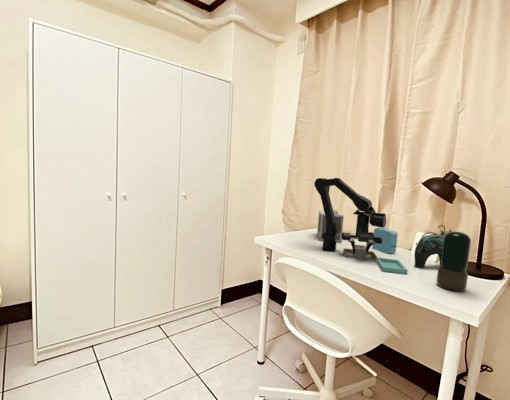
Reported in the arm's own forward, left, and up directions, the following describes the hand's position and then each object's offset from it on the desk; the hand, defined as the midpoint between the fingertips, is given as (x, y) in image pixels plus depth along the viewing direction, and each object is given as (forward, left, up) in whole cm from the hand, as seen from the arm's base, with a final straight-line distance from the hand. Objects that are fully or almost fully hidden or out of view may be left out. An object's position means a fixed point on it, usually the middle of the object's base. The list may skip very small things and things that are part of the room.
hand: (359, 254), depth 143 cm
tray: (+12, -12, -1) cm, 17 cm away
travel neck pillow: (+33, -3, -2) cm, 33 cm away
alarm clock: (-14, +33, -2) cm, 36 cm away
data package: (+15, +17, -2) cm, 23 cm away
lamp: (+30, -28, -1) cm, 41 cm away
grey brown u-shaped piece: (0, +1, -1) cm, 2 cm away
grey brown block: (0, 0, -1) cm, 1 cm away
